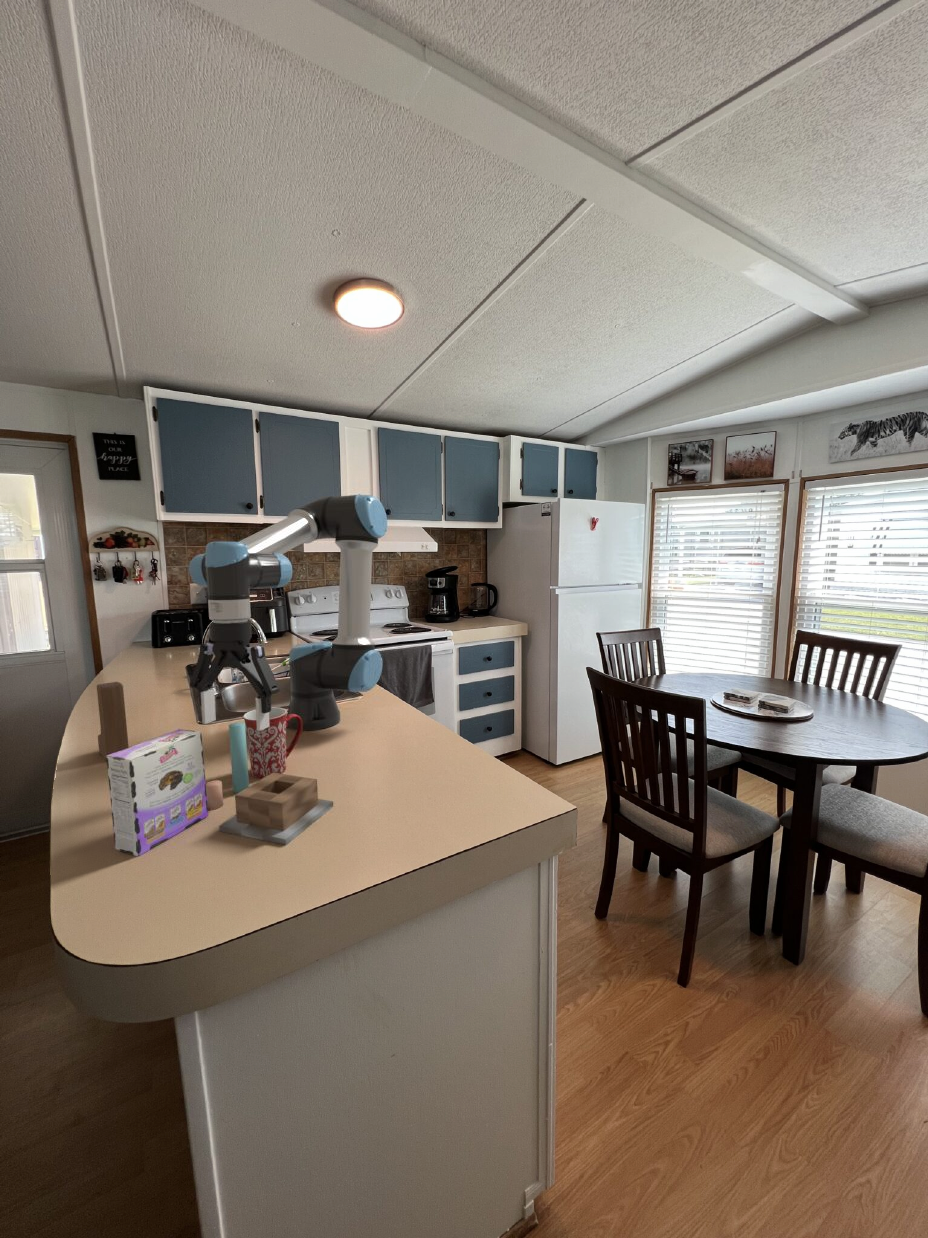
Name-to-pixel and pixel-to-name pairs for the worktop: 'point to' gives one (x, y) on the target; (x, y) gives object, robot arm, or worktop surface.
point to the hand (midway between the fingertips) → (235, 725)
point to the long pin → (238, 756)
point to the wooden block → (112, 718)
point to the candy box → (156, 790)
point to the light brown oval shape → (214, 795)
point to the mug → (270, 742)
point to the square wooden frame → (276, 808)
